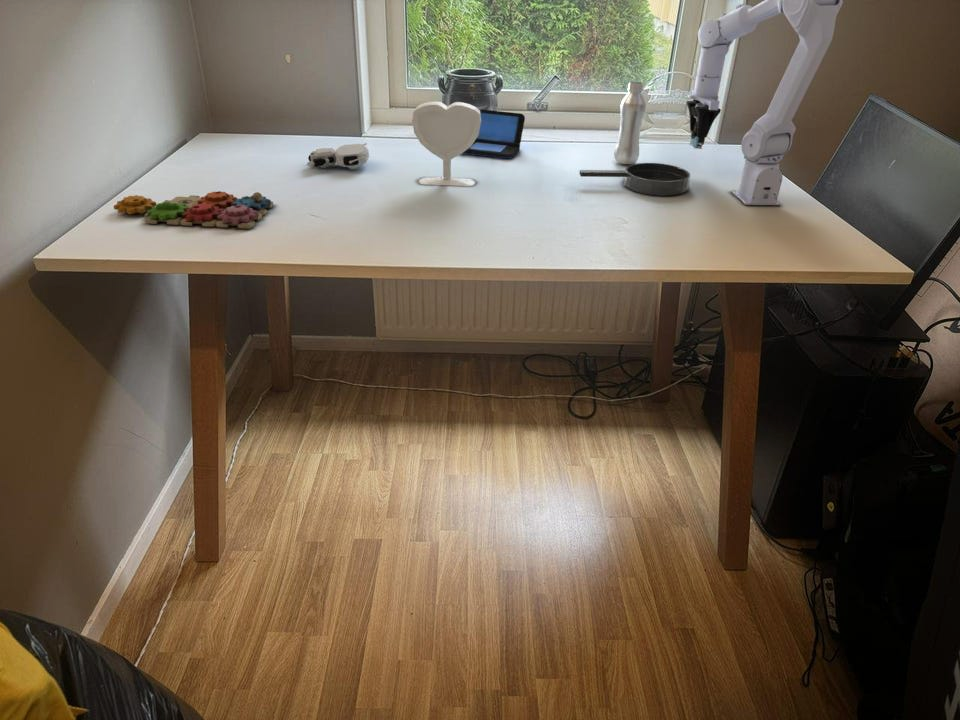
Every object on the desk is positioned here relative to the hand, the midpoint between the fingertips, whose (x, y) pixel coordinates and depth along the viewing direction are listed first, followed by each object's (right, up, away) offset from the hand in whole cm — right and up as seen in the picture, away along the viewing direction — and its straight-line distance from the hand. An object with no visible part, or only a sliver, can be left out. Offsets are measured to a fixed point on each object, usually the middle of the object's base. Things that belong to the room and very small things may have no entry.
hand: (698, 134), depth 171 cm
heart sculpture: (-62, -13, -6) cm, 64 cm away
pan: (-12, -14, -5) cm, 19 cm away
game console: (-51, +1, +19) cm, 54 cm away
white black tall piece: (0, -3, +2) cm, 3 cm away
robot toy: (-89, -7, +3) cm, 90 cm away
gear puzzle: (-114, -25, -27) cm, 120 cm away
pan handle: (-25, -12, -7) cm, 28 cm away
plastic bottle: (-16, -4, +11) cm, 20 cm away
